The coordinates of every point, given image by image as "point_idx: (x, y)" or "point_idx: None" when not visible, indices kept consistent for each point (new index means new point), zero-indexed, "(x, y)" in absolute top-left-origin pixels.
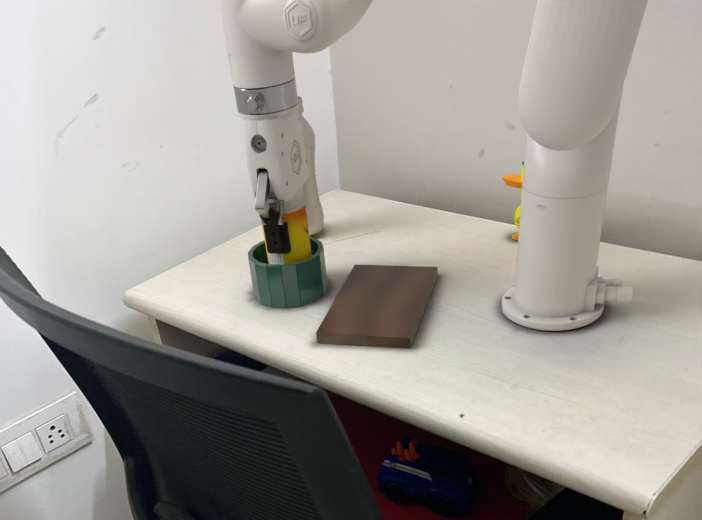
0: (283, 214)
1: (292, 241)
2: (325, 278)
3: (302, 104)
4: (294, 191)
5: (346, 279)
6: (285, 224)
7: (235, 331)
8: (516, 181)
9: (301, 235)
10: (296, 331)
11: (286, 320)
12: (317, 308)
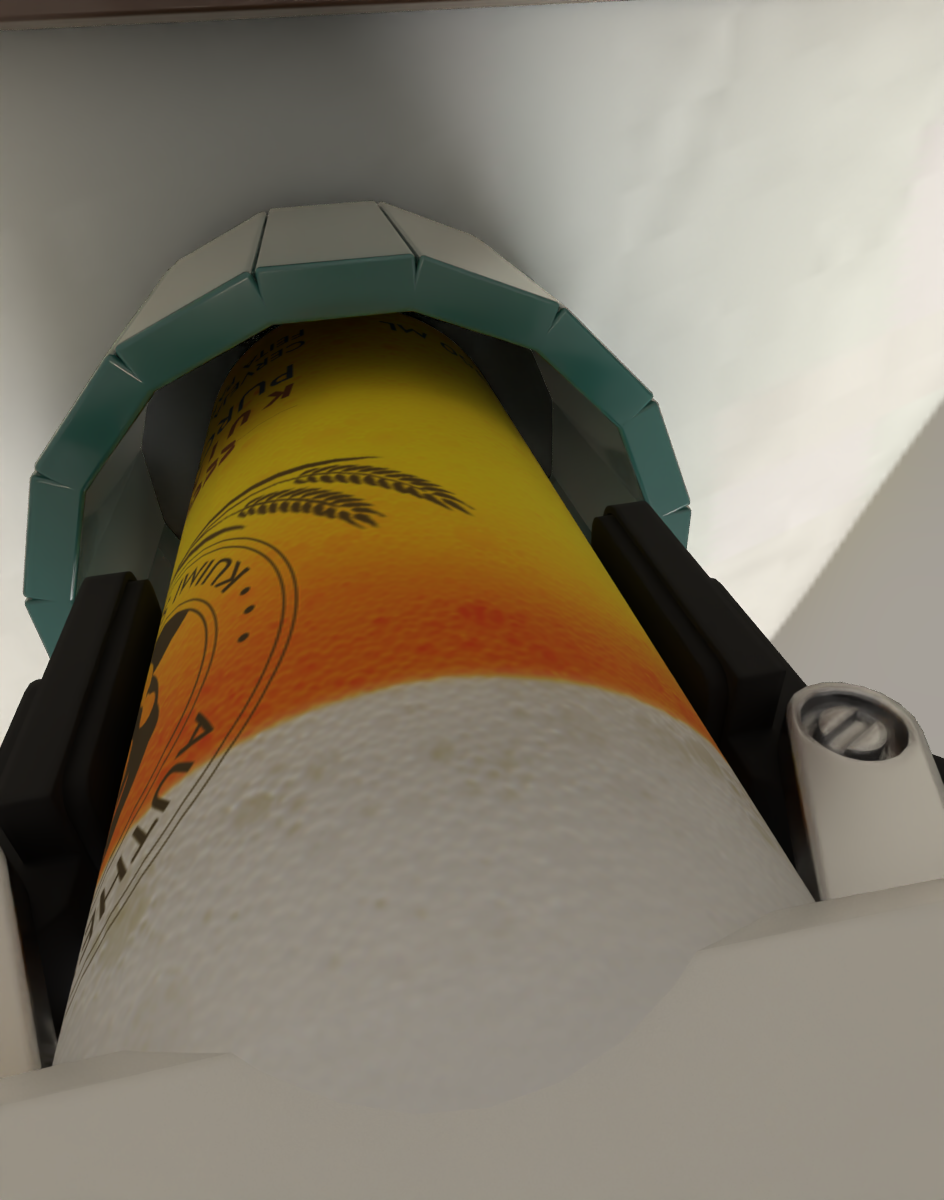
0: (820, 779)
1: (583, 537)
2: (295, 218)
3: None
4: (933, 996)
5: (225, 5)
6: (785, 671)
7: (816, 535)
8: None
9: (510, 490)
10: (858, 203)
11: (722, 326)
12: (567, 173)
